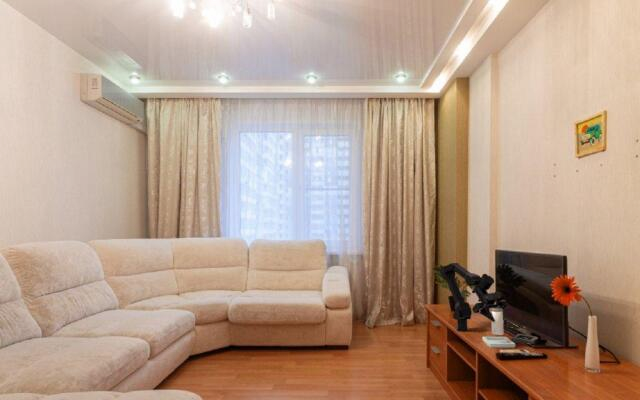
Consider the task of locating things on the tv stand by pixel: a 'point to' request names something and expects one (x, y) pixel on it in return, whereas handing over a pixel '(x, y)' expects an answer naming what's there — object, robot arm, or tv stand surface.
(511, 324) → the door stopper
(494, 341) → the tray
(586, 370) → the tv stand surface
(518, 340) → the collar
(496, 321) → the stop cylinder
